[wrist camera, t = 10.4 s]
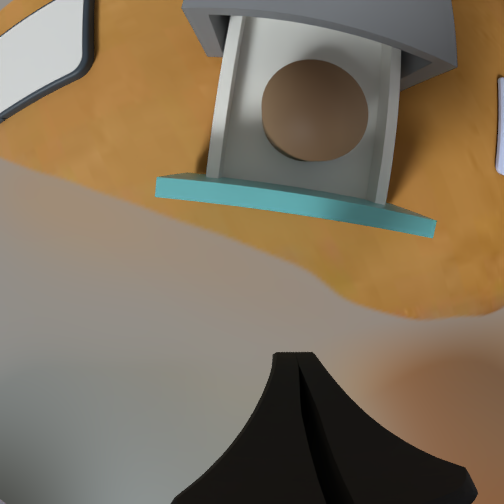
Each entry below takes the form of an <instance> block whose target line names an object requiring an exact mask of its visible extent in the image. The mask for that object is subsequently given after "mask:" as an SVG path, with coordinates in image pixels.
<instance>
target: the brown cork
mask: <svg viewBox="0 0 504 504" xmlns="http://www.w3.org/2000/svg"><path fill="white" fill-rule="evenodd" d="M261 109H262V125H263V129H264V132H265V135H266V137H267V139H268V140H269V142H270V143H271V145H272V146H273V147H274V148H275V149H276V150H277V151H278V152H280V153H281V154H283V155H284V156H286V157H288V158H291V159H293V160H297V161H304V162H310V161H329V160H333V159H337V158H339V157H342V156H344V155H345V154H347V153H349V152H350V151H351V150H352V149H354V148H355V147H356V146H357V144H358V143H359V142H360V140H361V139H362V137H363V135H364V133H365V131H366V128H367V123H368V105H367V101H366V98H365V95H364V93H363V91H362V89H361V87H360V86H359V84H358V83H357V81H356V80H355V79H354V78H353V77H352V76H351V75H350V74H349V73H348V72H346V71H345V70H343V69H342V68H340V67H338V66H337V65H335V64H332V63H329V62H326V61H322V60H315V59H307V60H300V61H295V62H293V63H290V64H288V65H286V66H284V67H282V68H281V69H280V70H278V71H277V72H276V73H275V74H274V75H273V76H272V77H271V79H270V80H269V81H268V83H267V85H266V87H265V90H264V92H263V96H262V105H261Z"/></svg>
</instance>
